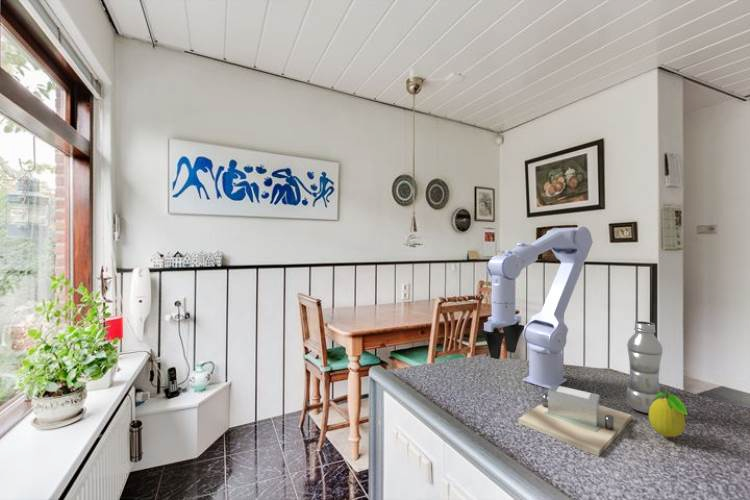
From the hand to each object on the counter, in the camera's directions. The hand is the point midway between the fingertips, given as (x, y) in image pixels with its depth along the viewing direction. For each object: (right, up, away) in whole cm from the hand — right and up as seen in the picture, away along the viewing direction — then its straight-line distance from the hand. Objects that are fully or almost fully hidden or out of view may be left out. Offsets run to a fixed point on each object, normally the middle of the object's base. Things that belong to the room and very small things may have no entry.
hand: (503, 354), depth 89 cm
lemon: (+24, -10, -21) cm, 34 cm away
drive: (+10, -9, -15) cm, 19 cm away
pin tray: (+10, -10, -15) cm, 20 cm away
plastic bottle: (+28, -10, -10) cm, 32 cm away
